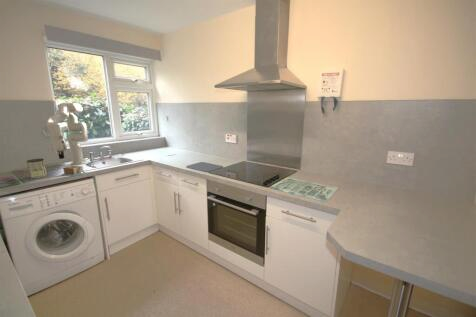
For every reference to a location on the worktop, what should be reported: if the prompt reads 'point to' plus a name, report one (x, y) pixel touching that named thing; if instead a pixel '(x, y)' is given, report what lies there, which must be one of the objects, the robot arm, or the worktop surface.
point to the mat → (73, 174)
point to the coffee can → (36, 168)
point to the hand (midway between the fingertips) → (62, 158)
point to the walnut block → (73, 169)
